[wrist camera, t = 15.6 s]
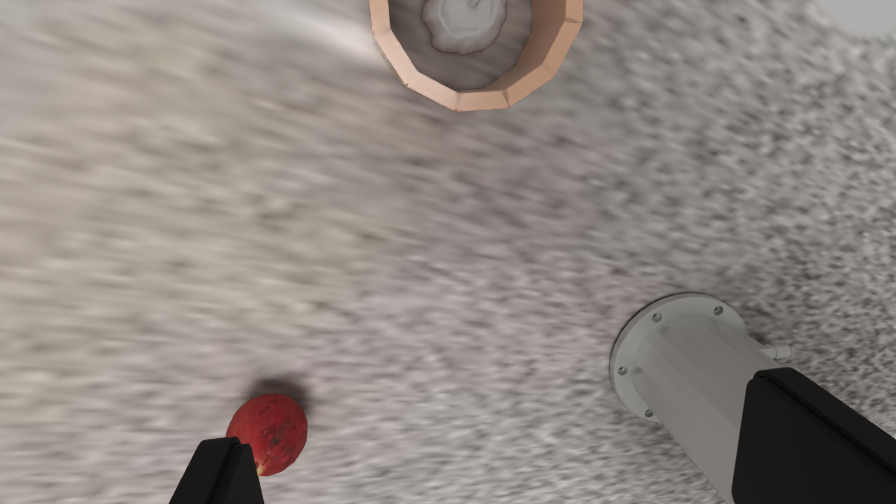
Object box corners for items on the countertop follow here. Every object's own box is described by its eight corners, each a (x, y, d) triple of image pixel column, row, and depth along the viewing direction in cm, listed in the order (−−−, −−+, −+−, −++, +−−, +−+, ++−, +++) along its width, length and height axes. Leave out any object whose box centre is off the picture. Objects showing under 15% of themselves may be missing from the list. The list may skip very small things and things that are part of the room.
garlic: (468, -53, 34) (483, -76, 29) (517, 16, 35) (539, 6, 31) (400, 11, 34) (403, -1, 30) (452, 75, 36) (462, 74, 31)
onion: (276, 361, 41) (253, 423, 34) (327, 404, 43) (315, 472, 36) (226, 405, 42) (191, 475, 35) (278, 445, 44) (256, 520, 36)
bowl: (545, -92, 34) (585, -134, 27) (545, 99, 37) (580, 102, 31) (361, -85, 32) (356, -128, 26) (381, 110, 36) (380, 117, 30)
